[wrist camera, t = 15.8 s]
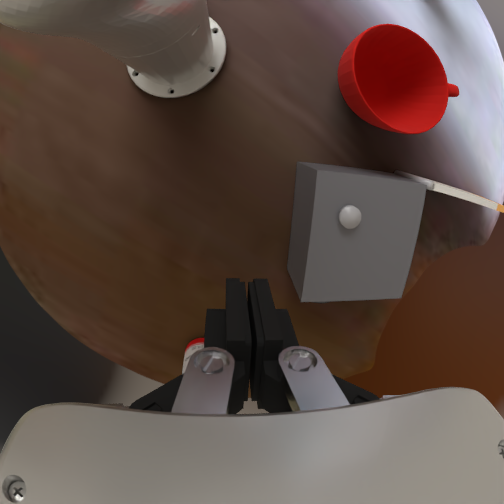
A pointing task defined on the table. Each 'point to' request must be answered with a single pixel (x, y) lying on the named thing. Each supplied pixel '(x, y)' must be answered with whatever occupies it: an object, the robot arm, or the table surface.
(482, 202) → the side door
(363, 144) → the table surface
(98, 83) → the table surface
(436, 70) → the ceramic cup
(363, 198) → the block
